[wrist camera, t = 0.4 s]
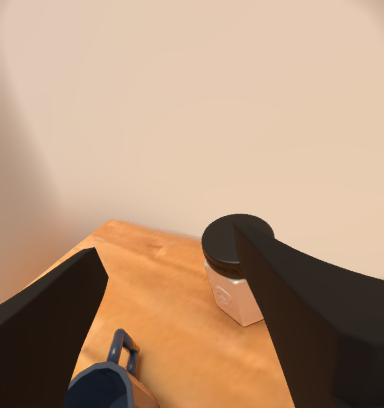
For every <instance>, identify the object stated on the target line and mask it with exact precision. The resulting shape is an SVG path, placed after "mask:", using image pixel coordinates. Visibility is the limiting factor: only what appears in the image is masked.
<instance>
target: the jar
mask: <svg viewBox="0 0 384 408" xmlns="http://www.w3.org/2000/svg"><path fill="white" fill-rule="evenodd" d="M243 220H246V221H247V222H249V223H251V224H252V225H254V226H255V227H257V228H258V229H260V230H261V231H263V232H265V233H266V234H268V235H270V236H271V237H273V238H274V233H273V230H272V228H271V227H270V225H269V224H268V223H267V222H265V221H264V220H262V219H261V218H258V217H256V216H252V215H248V214H232V215H227V216H224V217H221V218H219V219H217V220H215V221H214V222H212V223H211V224H210V225H209V226H208V227H207V228H206V230H205V231H204V233H203V236H202V249H203V253H204V256H205V262H204V266H205V269H206V272H207V276H208V279H209V282H210V285H211V288H212V291H213V295H214V298H215V301H216V304H217V306H218V307H219V308H220V309H222V310H223V311H224V312H225V313H227V314H228V315H229V316H230V317H232V318H233V319H234V320H236V321H237V322H238V323H239V324H241V325H242V326H243V327H245V326H248V325H250V324H253V323H255V322H258V321H260V320H262V319H264V318H263V316H262V313H261V311H260V309H259V307H258V305H257V303H256V301H255V298H254V296H253V294H252V292H251V290H250V288H249V286H248V283H247V281H246V279H245V277H244V275H243V273H242V270H241V267H240V264H239V260H238V257H237V253H236V244H235V235H234V226H233V222H237V221H243Z"/></svg>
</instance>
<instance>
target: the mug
mask: <svg viewBox="0 0 384 408" xmlns="http://www.w3.org/2000/svg"><path fill="white" fill-rule="evenodd" d="M122 347H123V348H124V349H125V350H126V351H127V352H128V353H129V357H128V361H127V366H126V370H125V369H124V368H123V367H121V366H119V365H118V362H119V358H120V354H121V350H122ZM139 352H140V348H139V346H138V345H137V344H136V343H135V342H134V341H133V340H132V338H131V337H130V336H129V335H128V334H127V333H126V332H125V331H124V329H118V330H116V331H115V333H114V337H113V340H112V343H111V347H110V350H109V354H108V357H107V361H106V362H102V363H96V364H94V365H92V366H90V367H89V368H87V369H85V370H83V371H82V372H80V373H79V374H78V375H77V376H76V377H75V378H74V379H73V380H72V381H71V382H70V384H69V388H68V391H67V394H66V398H65V401H64V405H63V408H160V405H159V403H158V401H157V399H156V398H155V397H154V395H153V394H152V393H151V392H150V391H149V390H148V389H147V388H146V387H145V386H144V385H143V384H141V383H140V382H139V381H138V380H137V379H136V378H135V374H136V369H137V363H138V358H139Z"/></svg>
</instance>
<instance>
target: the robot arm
mask: <svg viewBox="0 0 384 408" xmlns="http://www.w3.org/2000/svg"><path fill="white" fill-rule="evenodd" d="M233 226H234V235H235V244H236V253H237V257H238V260H239V264H240V267H241V270H242V273H243V275H244V277H245V279H246V281H247V283H248V286H249V288H250V290H251V292H252V294H253V296H254V298H255V301H256V303H257V305H258V307H259V309H260V311H261V313H262V316H263V318H264V320H265V323H266V325H267V328H268V331H269V334H270V336H271V339H272V342H273V345H274V347H275V350H276V353H277V356H278V359H279V362H280V364H281V367H282V370H283V373H284V376H285V379H286V382H287V385H288V388H289V391H290V394H291V397H292V400H293V402H294V405H295V408H384V280H381V279H377V278H374V277H370V276H366V275H363V274H360V273H356V272H353V271H350V270H347V269H344V268H341V267H338V266H335V265H333V264H329V263H327V262H324V261H322V260H319V259H316V258H314V257H312V256H309V255H307V254H305V253H302V252H300V251H298V250H296V249H294V248H292V247H290V246H288V245H286V244H284V243H282V242H280V241H278V240H277V239H275V238H273V237H271V236H270V235H268V234H266V233H265V232H263V231H261V230H260V229H258V228H257V227H255V226H254V225H252V224H251V223H249V222H247V221H246V220H243V221H237V222H233ZM108 278H109V277H108V275H107V273H106V271H105V268H104V266H103V264H102V262H101V260H100V258H99V255H98V253H97V251H96V249H95V247H93V248H88V249H83V250H81V251H79V252H78V253H76V254H75V255H73V256H72V257H70V258H69V259H67V260H66V261H64V262H63V263H61V264H60V265H58V266H57V267H56V268H54V269H53V270H51V271H50V272H49V273H47V274H46V275H44V276H43V277H41V278H40V279H39V280H37V281H36V282H34V283H33V284H31V285H30V286H28V287H27V288H25V289H24V290H22V291H21V292H19V293H18V294H16V295H15V296H13V297H12V298H10V299H8V300H7V301H5V302H4V303H2V304H0V408H63V405H64V401H65V398H66V394H67V391H68V388H69V384H70V381H71V378H72V375H73V372H74V369H75V366H76V363H77V359H78V356H79V354H80V351H81V348H82V346H83V343H84V341H85V339H86V336H87V334H88V332H89V329H90V327H91V325H92V322H93V320H94V318H95V316H96V313H97V311H98V308H99V306H100V304H101V301H102V299H103V296H104V293H105V290H106V286H107V282H108Z"/></svg>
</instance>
